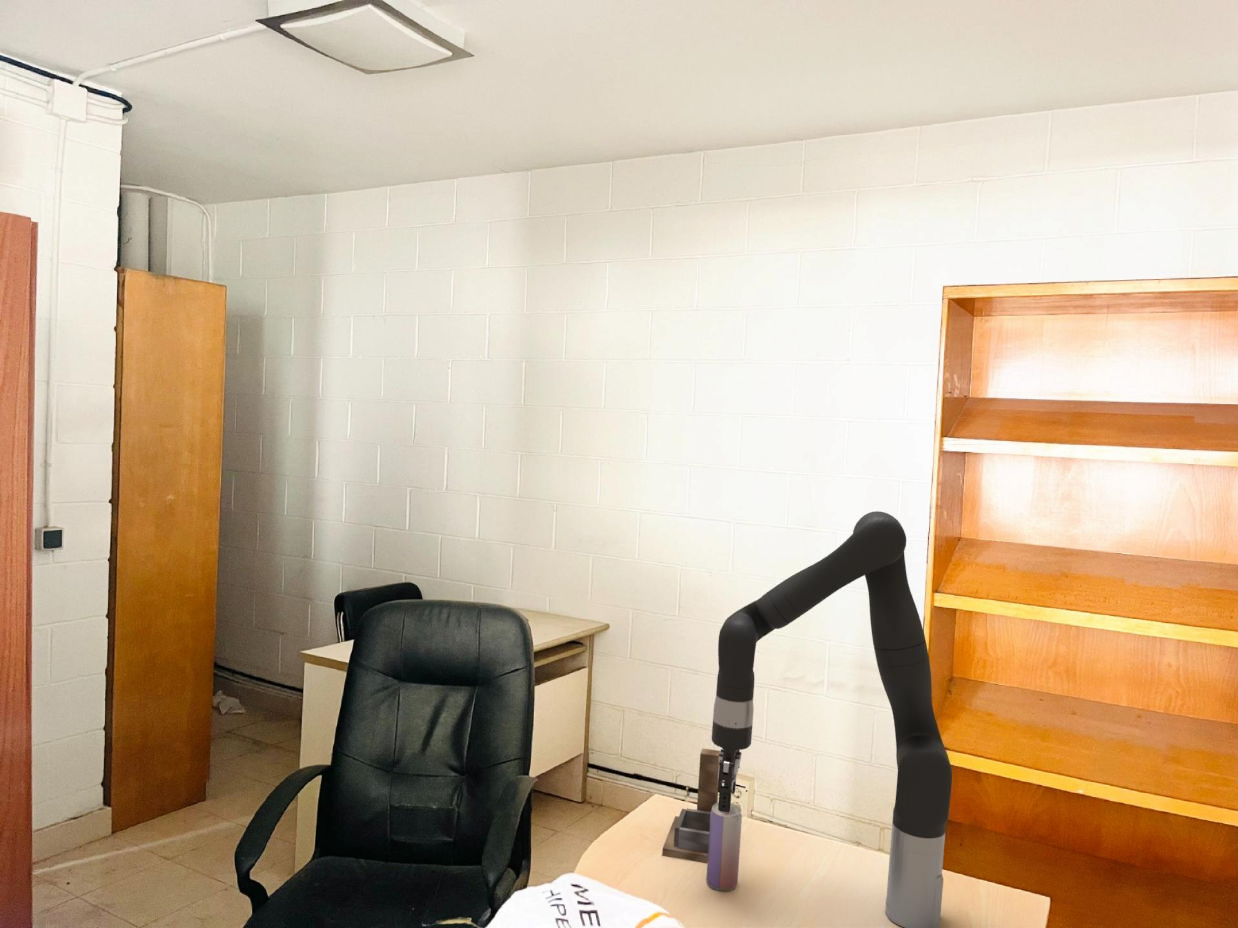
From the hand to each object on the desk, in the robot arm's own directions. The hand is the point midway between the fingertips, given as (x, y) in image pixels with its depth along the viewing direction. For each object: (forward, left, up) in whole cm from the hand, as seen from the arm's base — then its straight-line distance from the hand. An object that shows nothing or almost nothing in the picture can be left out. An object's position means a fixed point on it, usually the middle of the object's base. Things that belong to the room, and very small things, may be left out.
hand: (726, 801), depth 175 cm
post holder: (+6, -15, -16) cm, 23 cm away
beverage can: (0, 0, -17) cm, 17 cm away
